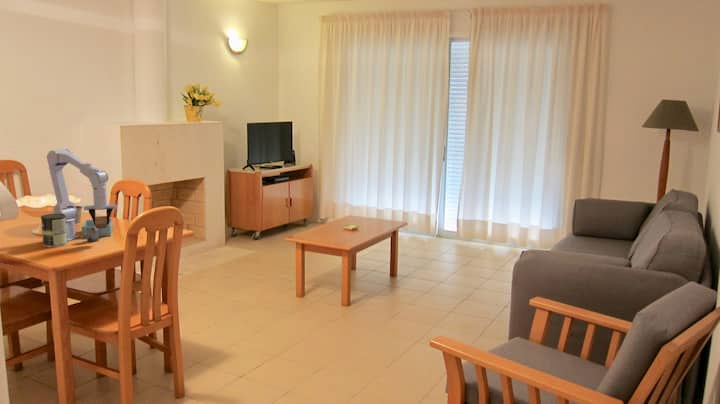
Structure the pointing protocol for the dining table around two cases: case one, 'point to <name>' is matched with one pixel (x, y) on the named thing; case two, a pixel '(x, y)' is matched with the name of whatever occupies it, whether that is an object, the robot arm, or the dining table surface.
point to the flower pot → (78, 214)
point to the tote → (101, 232)
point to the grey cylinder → (92, 234)
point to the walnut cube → (101, 222)
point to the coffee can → (54, 230)
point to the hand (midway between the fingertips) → (101, 224)
